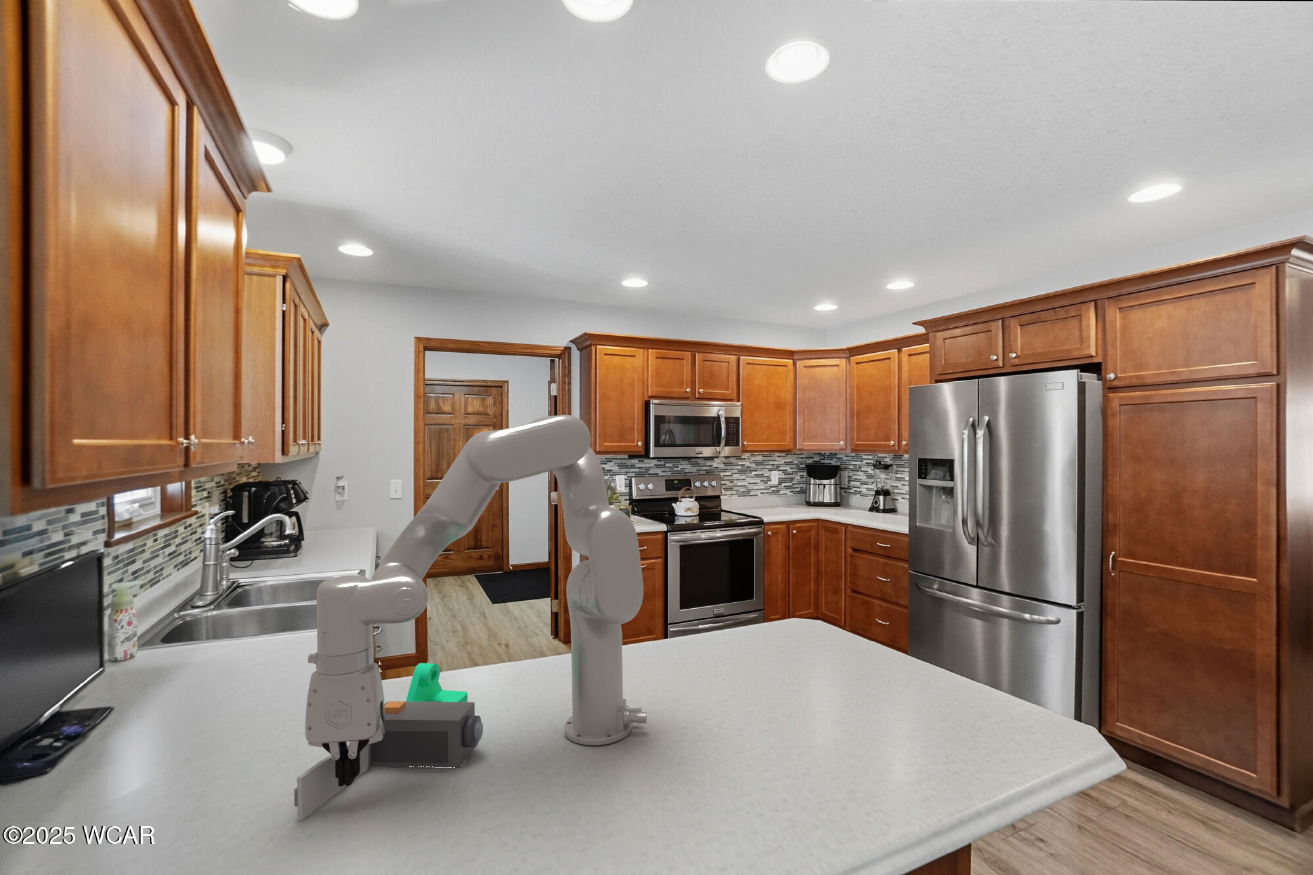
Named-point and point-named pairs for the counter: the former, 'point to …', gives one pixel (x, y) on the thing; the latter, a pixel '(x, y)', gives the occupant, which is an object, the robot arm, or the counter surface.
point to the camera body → (427, 734)
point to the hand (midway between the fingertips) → (348, 780)
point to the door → (322, 783)
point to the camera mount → (431, 686)
